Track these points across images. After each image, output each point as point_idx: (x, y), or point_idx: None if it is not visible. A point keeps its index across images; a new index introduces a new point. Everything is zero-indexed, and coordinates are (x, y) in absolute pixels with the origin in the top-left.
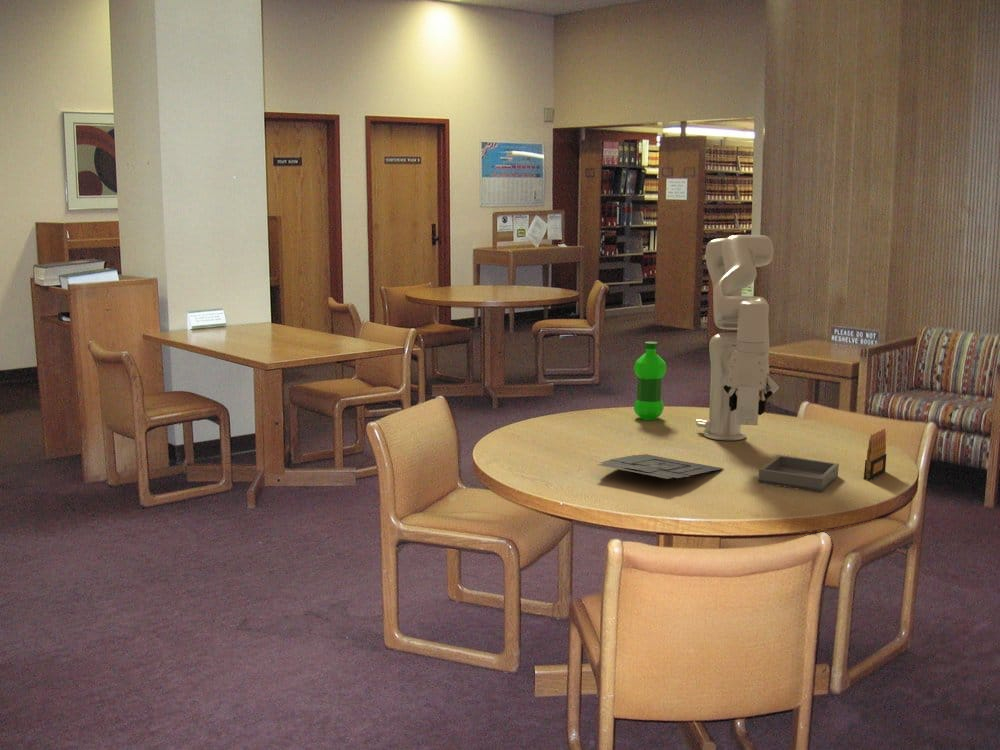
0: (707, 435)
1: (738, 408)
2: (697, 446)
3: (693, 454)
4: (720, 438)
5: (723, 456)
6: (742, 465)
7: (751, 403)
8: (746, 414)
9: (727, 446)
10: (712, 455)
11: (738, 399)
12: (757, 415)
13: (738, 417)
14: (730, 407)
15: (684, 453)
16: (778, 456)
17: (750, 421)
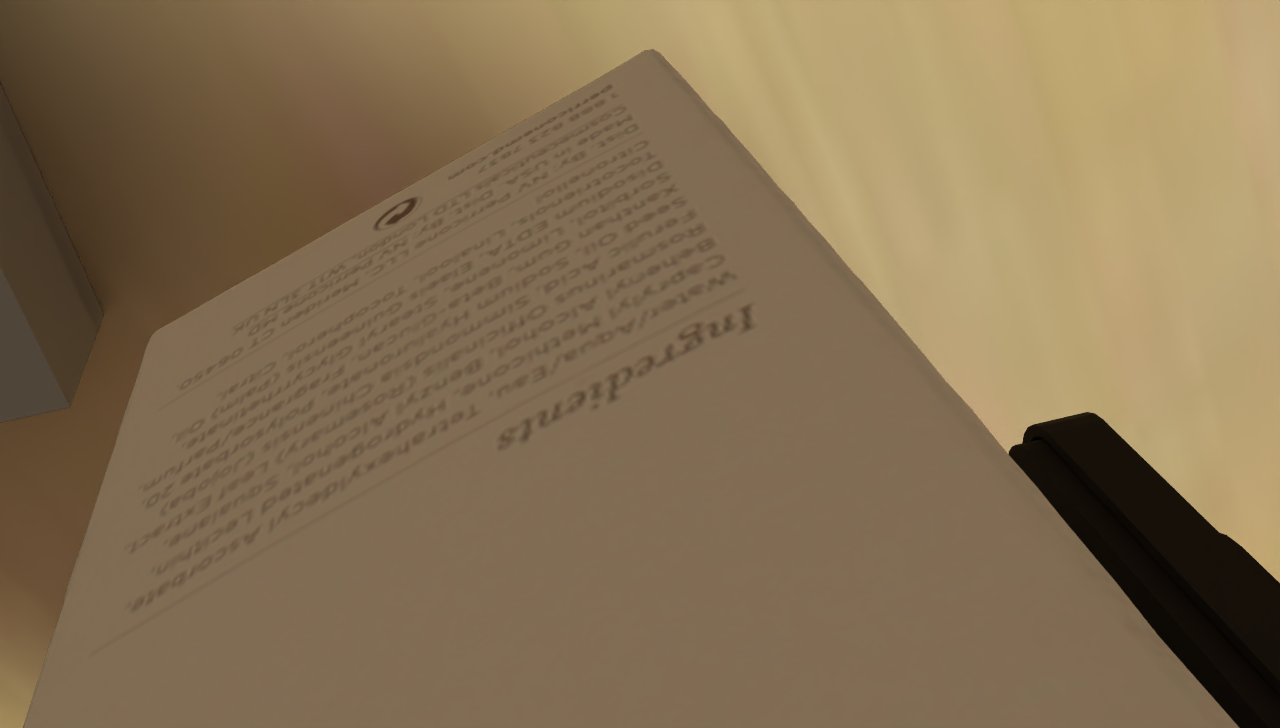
0: None
1: (769, 254)
2: (1198, 419)
3: (1171, 126)
4: None
5: None
6: (496, 97)
7: (255, 723)
8: (431, 315)
9: None
10: (973, 240)
11: (993, 512)
12: (96, 501)
13: (655, 128)
14: (1143, 462)
15: (1271, 91)
16: (8, 347)
17: (307, 282)
